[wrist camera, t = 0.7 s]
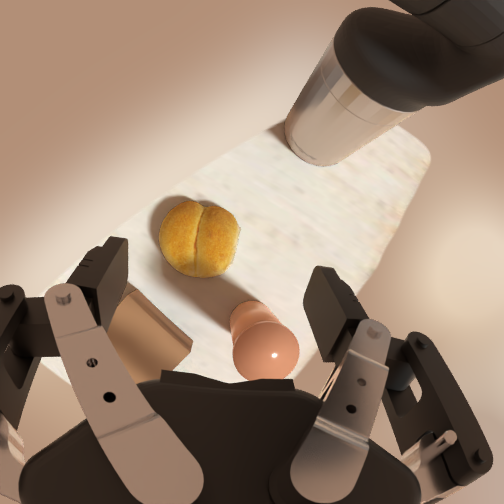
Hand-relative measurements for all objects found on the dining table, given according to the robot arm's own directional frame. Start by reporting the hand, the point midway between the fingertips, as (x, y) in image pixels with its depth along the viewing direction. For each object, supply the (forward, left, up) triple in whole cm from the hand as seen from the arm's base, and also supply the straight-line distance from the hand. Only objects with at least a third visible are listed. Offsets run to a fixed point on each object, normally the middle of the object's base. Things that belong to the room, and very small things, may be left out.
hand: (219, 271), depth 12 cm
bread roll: (0, -3, -22) cm, 22 cm away
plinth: (+14, 0, -22) cm, 26 cm away
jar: (+3, +8, -22) cm, 23 cm away
